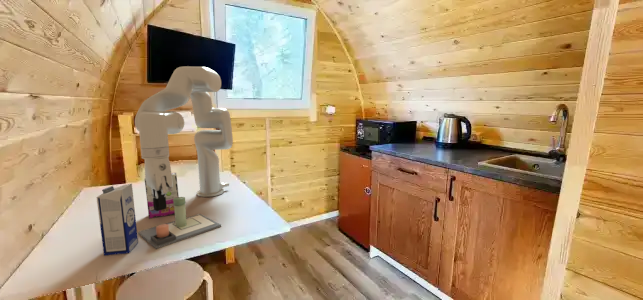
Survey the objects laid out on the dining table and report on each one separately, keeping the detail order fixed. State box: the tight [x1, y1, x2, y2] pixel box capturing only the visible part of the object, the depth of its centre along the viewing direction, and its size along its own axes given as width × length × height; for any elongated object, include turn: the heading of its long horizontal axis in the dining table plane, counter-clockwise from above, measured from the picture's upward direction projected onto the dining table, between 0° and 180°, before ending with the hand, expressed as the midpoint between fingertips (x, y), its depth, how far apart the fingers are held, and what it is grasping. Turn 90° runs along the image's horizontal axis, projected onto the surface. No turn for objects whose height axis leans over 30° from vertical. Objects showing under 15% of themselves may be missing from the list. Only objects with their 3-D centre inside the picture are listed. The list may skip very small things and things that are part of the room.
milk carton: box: [96, 183, 139, 256], centre depth 88 cm, size 7×7×20 cm
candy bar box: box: [144, 172, 180, 219], centre depth 116 cm, size 11×5×16 cm, turn 117°
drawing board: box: [137, 213, 222, 250], centre depth 103 cm, size 22×16×2 cm
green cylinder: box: [173, 196, 187, 227], centre depth 104 cm, size 4×4×10 cm
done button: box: [155, 223, 169, 238], centre depth 94 cm, size 4×4×3 cm
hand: (160, 209), depth 93 cm, fingers closed
